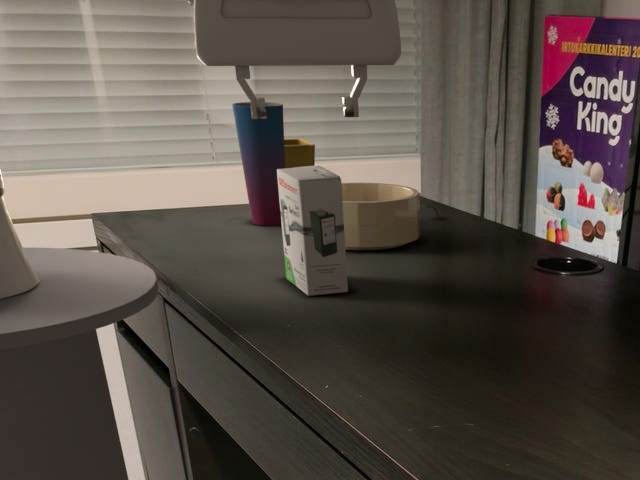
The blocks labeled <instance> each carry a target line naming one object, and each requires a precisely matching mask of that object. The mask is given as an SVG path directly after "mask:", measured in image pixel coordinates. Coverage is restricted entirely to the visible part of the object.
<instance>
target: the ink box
mask: <svg viewBox="0 0 640 480" xmlns="http://www.w3.org/2000/svg"><path fill="white" fill-rule="evenodd" d="M277 179H278V190H279V202H280V211H281V223H282V224H281V233H282V244H283V245H282V246H283V254H284V257H283V258H284V267H285V279H286V280H287V281H289V282H290V283H291V284H293V285H294V286H295V287H296V288H297V289H299V290H300V291H302V292H303V293H304V294H305V295H306V296H308V297H310V296H321V295H330V294H339V293H340V294H341V293H348V292H349V283H348V268H347V253H346V251H347V250H345V235H344V219H343V202H342V185H341V183H342V178H341V176H340V175H338V174H337V173H334V172H333V171H330V169H327V168H325V167H323V166H321V165H315V166H305V167H295V168H285V169H277Z"/></svg>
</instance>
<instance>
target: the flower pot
mask: <svg viewBox="0 0 640 480" xmlns="http://www.w3.org/2000/svg"><path fill="white" fill-rule="evenodd" d="M284 150H285V168H295V167H305V166H316V165H315V163H316V161H315V159H316V155H315V154H316V144H315V143H311V142H310V141H309V142H308V141H307V140H304V139H302V138H284Z"/></svg>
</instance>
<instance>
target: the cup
mask: <svg viewBox="0 0 640 480" xmlns="http://www.w3.org/2000/svg"><path fill="white" fill-rule="evenodd" d="M231 105H232V112H233V117H234V123H235V130H236V135H237V141H238V146H239V152H240V158H241V159H240V160H241V164H242V171H243V176H244V182H245V189H246V193H247V201H248V205H249V206H248V207H249V212H250V217H251V222H252V224H253V225H257V226H269V227H270V226H282V223H281V211H280V202H279V190H278V179H277V169H285V150H284V139H285V128H284V127H285V126H284V125H285V123H284V122H285V121H284V104H283V103H280V102H269V101H265V108H264V109H265V110H266V116H267V118H266V119H252V112H251V103H250V101H244V102H243V101H242V102H234V103H232V104H231Z"/></svg>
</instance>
